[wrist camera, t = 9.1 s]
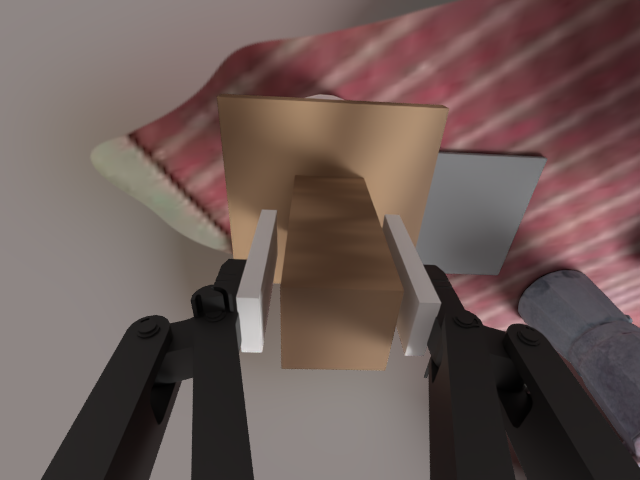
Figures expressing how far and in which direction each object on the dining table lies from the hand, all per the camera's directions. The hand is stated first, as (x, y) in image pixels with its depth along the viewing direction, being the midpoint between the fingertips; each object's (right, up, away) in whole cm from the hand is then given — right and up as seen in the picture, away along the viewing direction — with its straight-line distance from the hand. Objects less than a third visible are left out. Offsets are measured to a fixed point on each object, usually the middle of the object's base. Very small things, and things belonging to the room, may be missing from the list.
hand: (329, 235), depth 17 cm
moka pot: (+29, -8, +25) cm, 39 cm away
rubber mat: (+13, +2, +18) cm, 23 cm away
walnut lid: (0, +2, +4) cm, 4 cm away
